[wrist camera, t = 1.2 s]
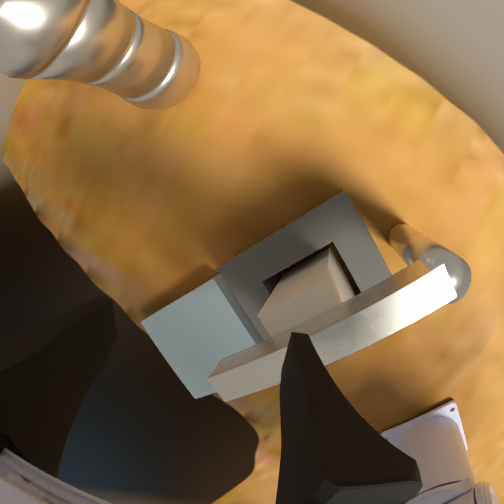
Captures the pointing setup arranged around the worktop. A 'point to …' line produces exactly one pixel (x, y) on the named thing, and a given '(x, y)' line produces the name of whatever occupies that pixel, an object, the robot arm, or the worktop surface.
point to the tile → (201, 332)
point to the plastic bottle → (97, 49)
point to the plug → (306, 293)
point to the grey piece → (356, 315)
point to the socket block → (305, 255)
